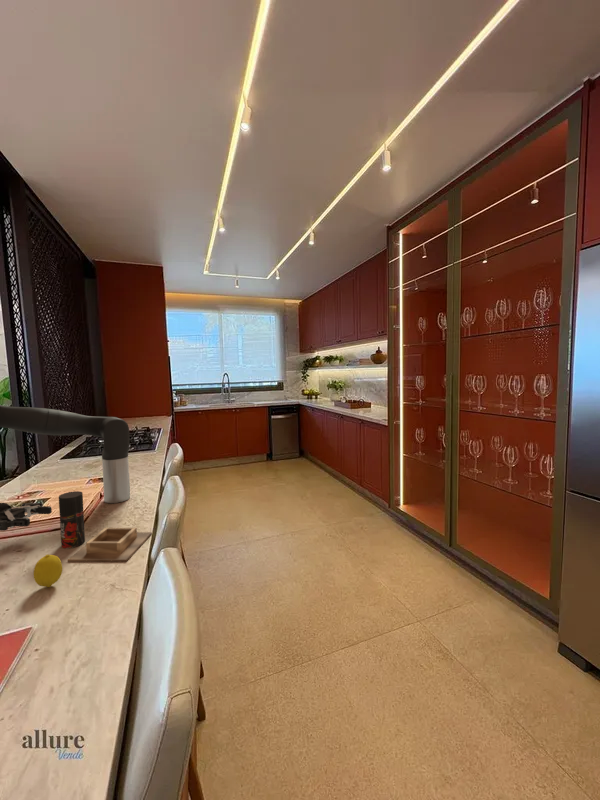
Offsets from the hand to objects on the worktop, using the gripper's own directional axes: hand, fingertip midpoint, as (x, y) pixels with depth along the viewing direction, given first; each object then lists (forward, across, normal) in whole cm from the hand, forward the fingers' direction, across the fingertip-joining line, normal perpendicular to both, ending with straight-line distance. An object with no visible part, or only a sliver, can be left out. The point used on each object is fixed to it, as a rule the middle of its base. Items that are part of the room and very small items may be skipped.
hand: (40, 515), depth 103 cm
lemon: (+18, -21, +9) cm, 29 cm away
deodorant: (+9, 0, +9) cm, 13 cm away
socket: (+22, -2, +8) cm, 24 cm away
